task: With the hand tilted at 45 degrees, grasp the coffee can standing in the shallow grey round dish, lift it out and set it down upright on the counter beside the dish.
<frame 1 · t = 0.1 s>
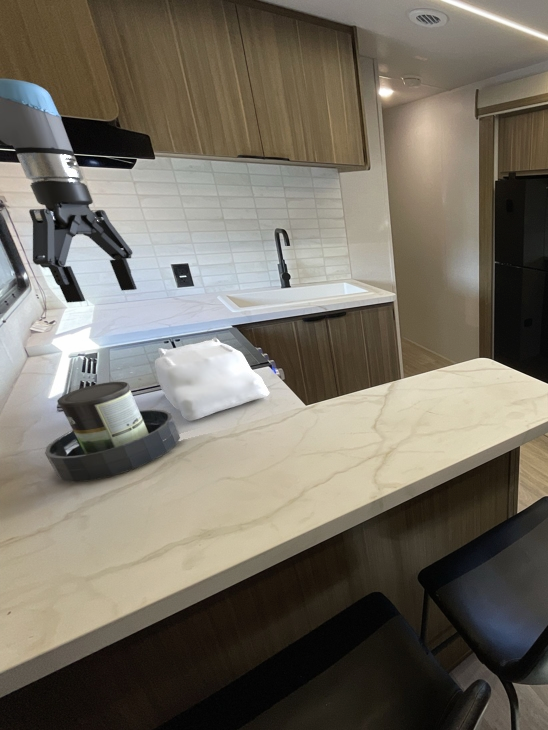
hand: (104, 295, 83), 31 cm above the countertop, tool pointing down, fingers open, 13 cm apart
white bag: (216, 396, 110), on the countertop
shallow grey round dish: (123, 454, 84), on the countertop
coffee can: (123, 453, 84), resting on shallow grey round dish
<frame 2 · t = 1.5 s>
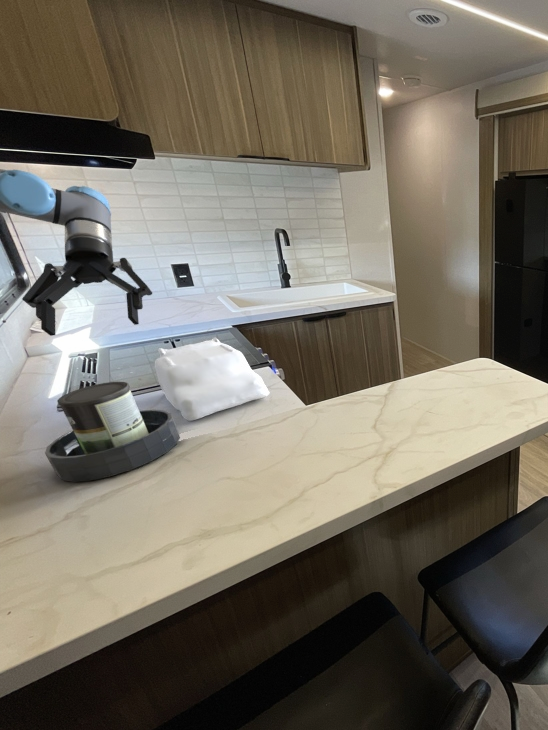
hand: (92, 326, 83), 25 cm above the countertop, tool tilted 45°, fingers open, 13 cm apart
nothing on the countertop moved.
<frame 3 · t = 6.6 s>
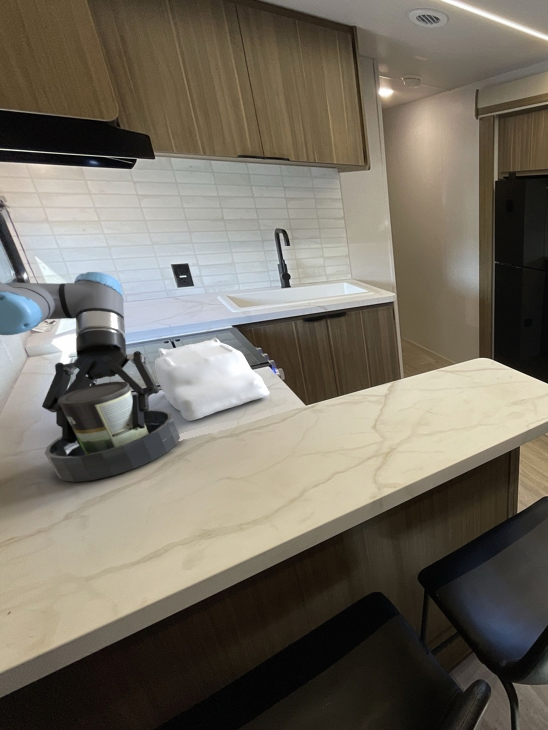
hand: (105, 433, 79), 6 cm above the countertop, tool tilted 45°, fingers closed on coffee can, 10 cm apart
coffee can: (123, 453, 84), resting on shallow grey round dish, touching gripper
everything else where it was.
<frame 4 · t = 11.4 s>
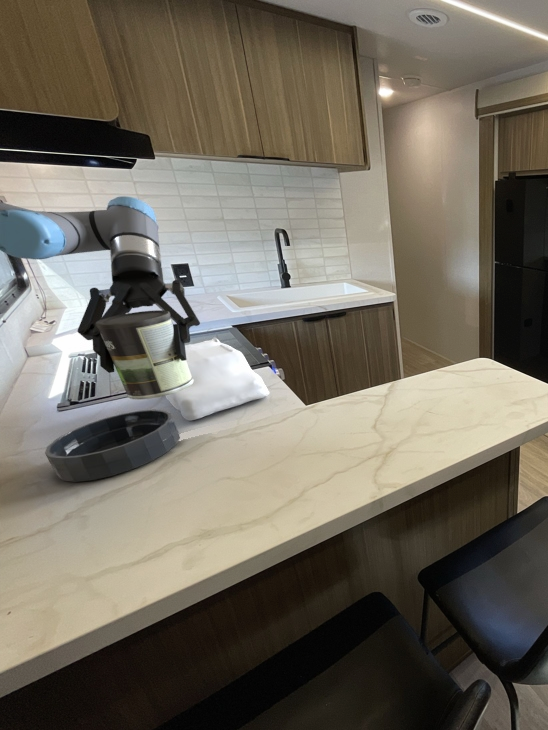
hand: (145, 363, 72), 21 cm above the countertop, tool tilted 45°, fingers closed on coffee can, 10 cm apart
coffee can: (162, 389, 77), point 15 cm above the countertop, touching gripper
everything else where it was.
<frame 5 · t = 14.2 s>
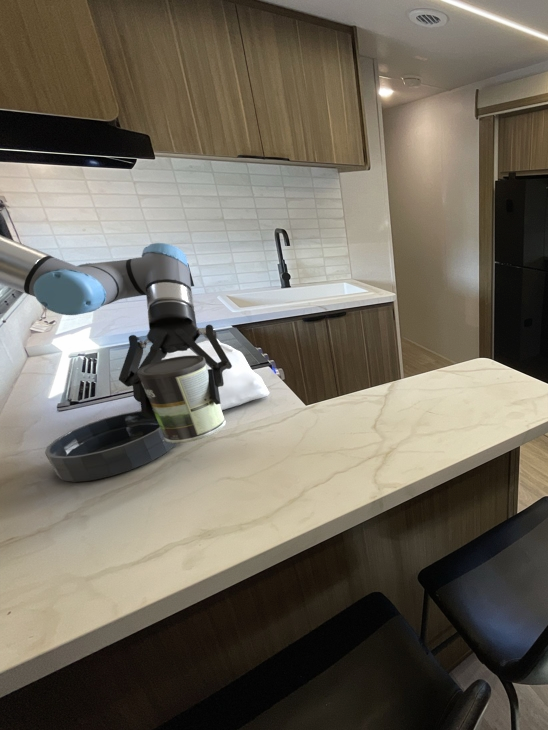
hand: (182, 408, 75), 12 cm above the countertop, tool tilted 45°, fingers closed on coffee can, 10 cm apart
coffee can: (197, 430, 80), point 5 cm above the countertop, touching gripper
everything else where it was.
when the fingers open (6 cm above the countertop, at t = 16.3 s): coffee can stays where it is, on the countertop.
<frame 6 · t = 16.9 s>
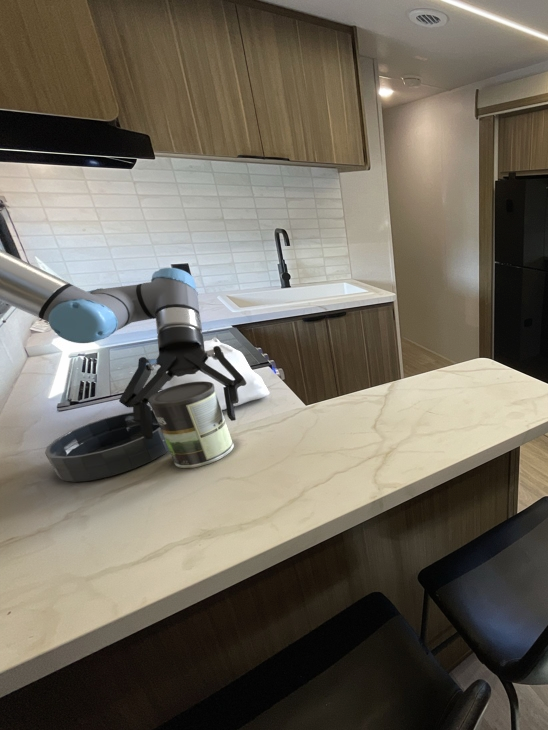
hand: (191, 427, 78), 7 cm above the countertop, tool tilted 45°, fingers open, 13 cm apart
coffee can: (206, 454, 82), on the countertop
everything else where it was.
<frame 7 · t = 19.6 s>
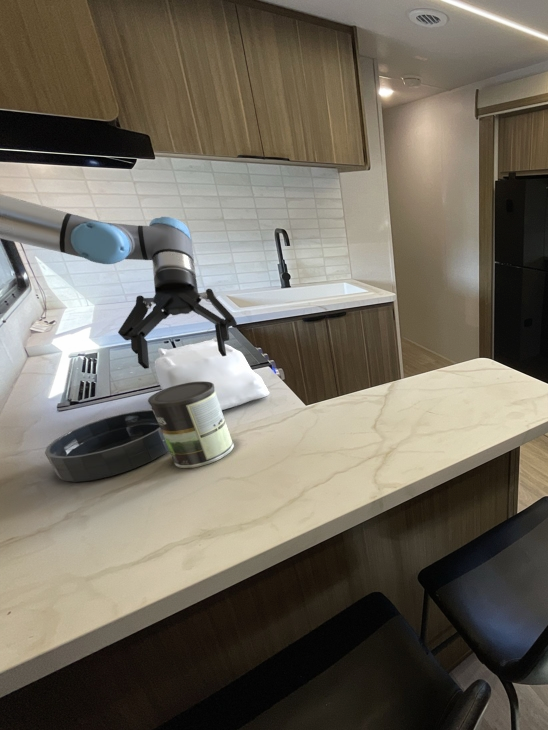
hand: (184, 359, 84), 18 cm above the countertop, tool tilted 45°, fingers open, 13 cm apart
nothing on the countertop moved.
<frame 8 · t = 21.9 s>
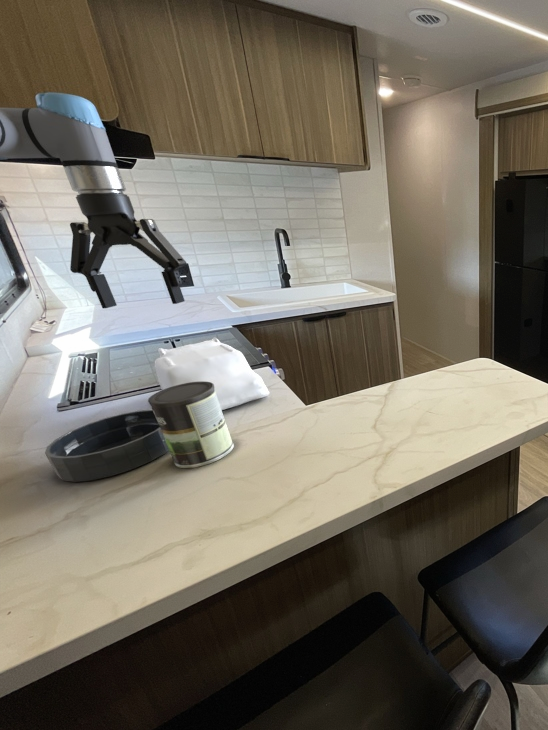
hand: (144, 304, 84), 29 cm above the countertop, tool pointing down, fingers open, 13 cm apart
nothing on the countertop moved.
at the end: coffee can inside the target area (0.1 cm from its centre), on the countertop; coffee can tilted 0°; coffee can touching countertop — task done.
